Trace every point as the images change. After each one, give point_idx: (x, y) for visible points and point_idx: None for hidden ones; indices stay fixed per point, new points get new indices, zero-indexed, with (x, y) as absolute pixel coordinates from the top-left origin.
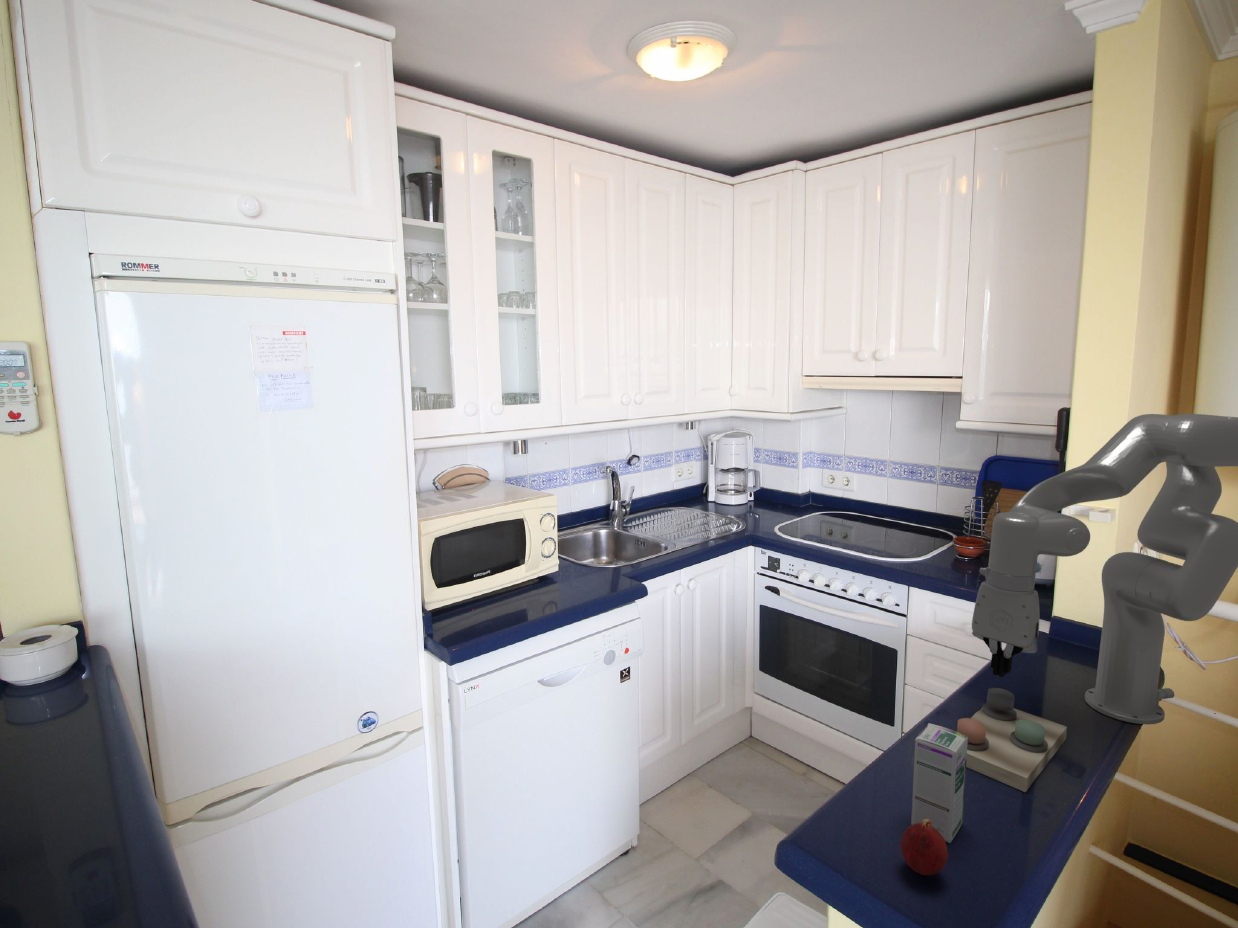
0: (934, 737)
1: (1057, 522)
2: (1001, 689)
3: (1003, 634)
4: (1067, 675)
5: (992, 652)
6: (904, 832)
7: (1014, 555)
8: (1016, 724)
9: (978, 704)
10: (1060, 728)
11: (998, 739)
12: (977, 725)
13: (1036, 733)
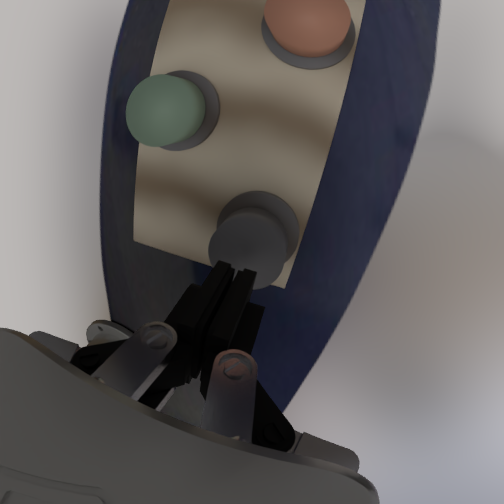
0: None
1: None
2: None
3: (78, 451)
4: (194, 407)
5: (243, 357)
6: None
7: None
8: (187, 94)
9: (310, 292)
10: (140, 226)
11: (245, 82)
12: (291, 17)
13: (141, 82)
